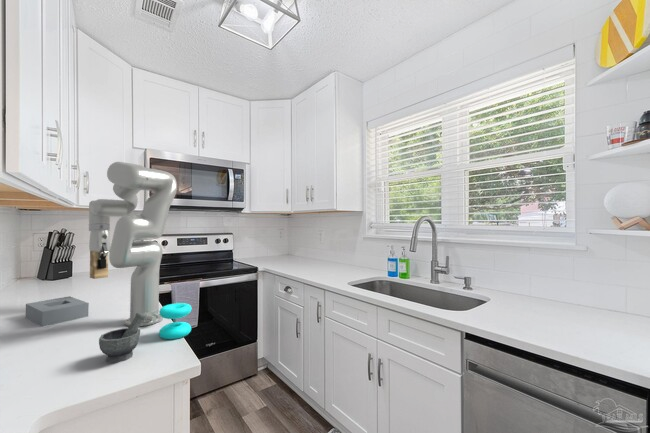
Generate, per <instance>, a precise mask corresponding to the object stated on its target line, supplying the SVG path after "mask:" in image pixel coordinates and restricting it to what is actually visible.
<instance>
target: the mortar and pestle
mask: <svg viewBox="0 0 650 433" xmlns="http://www.w3.org/2000/svg"><path fill="white" fill-rule="evenodd" d="M145 317H146V315H145V314H143V313H136V315H135V318H134V320H133V321H132V323H131V324H130V326H127V327H125V328H124V327H122V328H120V329H119V328H118V329H114V330H109V331H107V332H105V333H103V334H101V335H100V337H99V338H98V345H99V350H100V351H101V353H102V354H104V355H106V356H107V357H106V362H107V363H109V364H115V363H117V364H119V363H121V362H125V361H127V360H130V359H131V358H133V355H134V354H133V351H134V350H135V348H136V347H137V346H138V344H139V340H140V337H141V329H140V327H141V326H140V324H141V322H142V320H143V319H144V318H145Z"/></svg>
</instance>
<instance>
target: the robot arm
mask: <svg viewBox="0 0 650 433" xmlns="http://www.w3.org/2000/svg"><path fill="white" fill-rule="evenodd" d="M106 177H107V179H108V181H110V183H112V184H113V186H112V191H113V193H114V194H115V195H116V196H117V197H118V198H119V199H107V198H100V199H99V198H98V199H96V200H91V201H89V204H88V231H89V232H90V234H89V245H88V247H89V252H90V251H96V252H97V253H98V259H99V260H97V268H98V269H102V268H106V259H107V254H108V261H109V263H110V265H111V266H112V267H114V268H116V269H126V268H133V267H136V268H134V270H133V272H132V274H131V277H130V297H129V299H130V300H129V301H130V302H129V305H130V307H129V318H127V319H126V320H125V321H124V325H125V326H127V327H129V326H130V324H131V323H132V321H133V320H134V318H135V315H136V313H143V314H145V315H146V317H145V318H144V319H143V320H142V322H141V324H140V326H139V327H144V326H145V327H146V326H149V325H155V324H157V323H159V322H161V321H162V320H163V319H164V318H163V317H161V316H160V314H159V311H160V307H159V306H160V305H159V304H160V302H159V301H160V300H159V299H160V297H159V296H160V267H161V266H160V265H161V262H162V257H163V247H162V246H161V244H160V243H159V242H158V241H156V240H158V239H160V238H161V237H162V236H163V235H164V230H165V228H166V223H167V219H168V215H169V211H170V207H171V205H172V203H173V201H174V199H175V196H176V194H177V190H178V183H177V179H176V177H175V176H174V175H173V174H172V173H170V172H169V171H166V170H165V171H164V170H161V169H156V168H149V167H146V166H143V165H140V164H135V163H128V162H123V161H114V162H113V163H111V164H110V165H109V166H108V168H107V171H106ZM140 191H152V192H154V193H153V194H151V195H150V196H149V197H148V198H147V199H146V200H145V202H144V203H143V208H142V212H141V213H140V214H132V213H133V212H134V211H135V210H136V208H137V206H138V202H139V201H138V200H139V199H138V195H137V194H138V193H139V192H140ZM111 217H120V218H119V219H118V220H117V221H116V223H115V227H114V230H113V231H114V232H113V234H112V238H111V234H110V229H111V228H110V226H111V220H110V219H111ZM111 239H112V240H111ZM153 240H155V241H153ZM101 251H103V252H101Z"/></svg>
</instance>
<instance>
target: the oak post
mask: <svg viewBox="0 0 650 433" xmlns="http://www.w3.org/2000/svg"><path fill="white" fill-rule="evenodd" d="M101 252H103V251H101ZM97 260H99V259H98V253H97V252H96V251H90V250H89V279H92V280H93V279H94V280H96V279H103V278H108V277H109V253H108V254H107V259H106V268H102V269H98V268H97Z"/></svg>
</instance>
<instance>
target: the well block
mask: <svg viewBox="0 0 650 433" xmlns="http://www.w3.org/2000/svg"><path fill="white" fill-rule="evenodd" d="M89 308H90V307H89V302H87V301H84V300H81V299H79V298H75V297H73V296H70V295H69V296H63V297H58V298H53V299H47V300H45V299H44V300H40V301H35V302H28V303H25V318H26V319H28V320H30V321H31V322H33V323H35V324H36V325H39V326H40V327H43V328H44V327H48V326H51V325H52V326H53V325H56V324H60V323H65V322H69V321H74V320H78V319H82V318H86V317H87V318H88V317H89Z"/></svg>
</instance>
